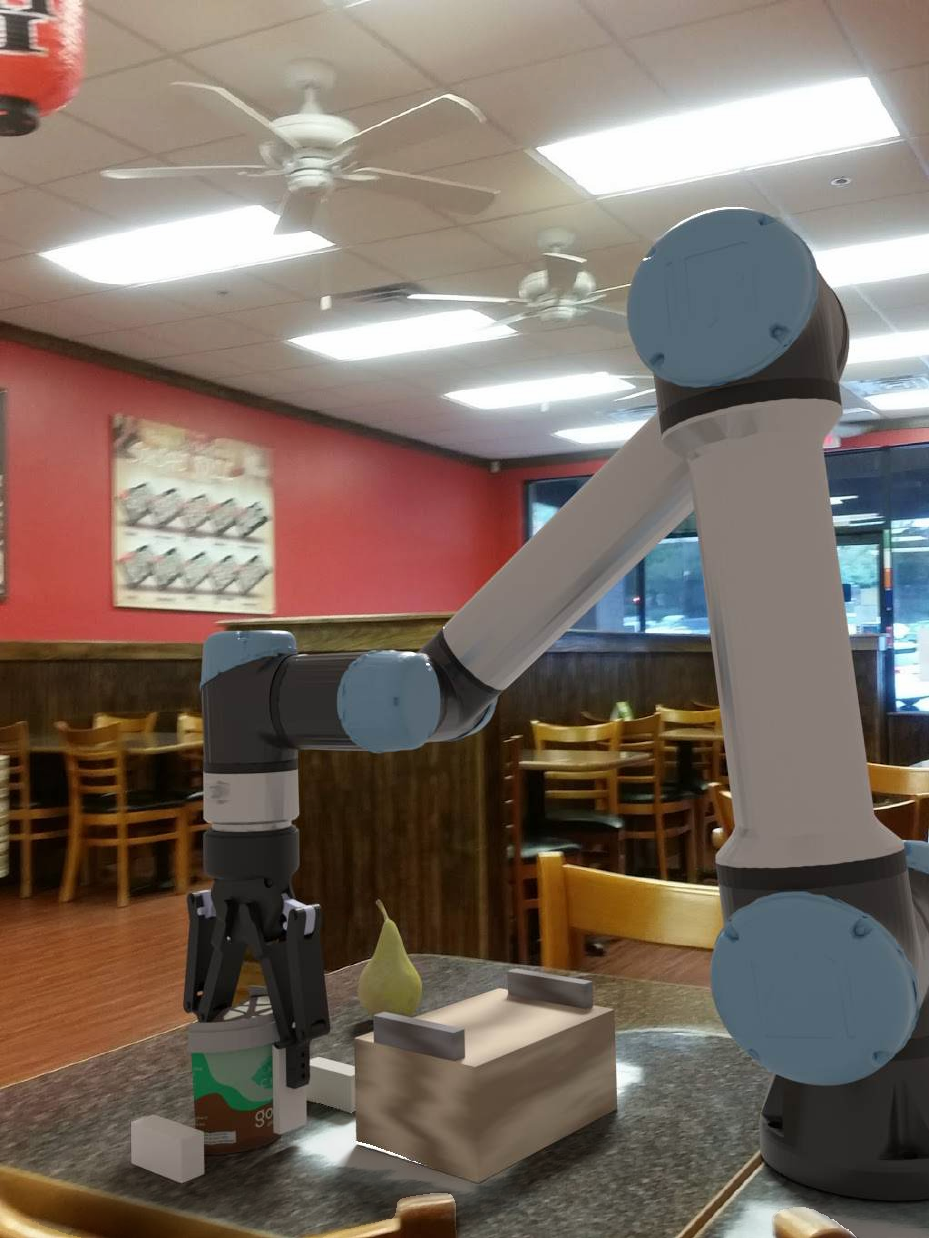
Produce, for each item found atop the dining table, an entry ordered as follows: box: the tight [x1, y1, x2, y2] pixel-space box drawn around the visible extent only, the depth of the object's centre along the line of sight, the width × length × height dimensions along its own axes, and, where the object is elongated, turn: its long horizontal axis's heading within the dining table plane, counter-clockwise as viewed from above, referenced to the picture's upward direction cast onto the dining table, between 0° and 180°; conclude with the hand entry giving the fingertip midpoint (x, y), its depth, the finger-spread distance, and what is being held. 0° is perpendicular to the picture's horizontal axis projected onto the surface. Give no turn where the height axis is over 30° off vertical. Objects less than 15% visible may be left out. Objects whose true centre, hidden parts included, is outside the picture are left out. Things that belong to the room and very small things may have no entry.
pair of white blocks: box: [130, 1056, 356, 1184], centre depth 95 cm, size 6×19×3 cm, turn 140°
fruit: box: [357, 899, 423, 1018], centre depth 126 cm, size 7×8×12 cm
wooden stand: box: [353, 968, 618, 1184], centre depth 96 cm, size 12×18×10 cm, turn 140°
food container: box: [186, 985, 295, 1156], centre depth 95 cm, size 12×6×10 cm, turn 167°
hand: (255, 1116), depth 95 cm, fingers closed on food container, 7 cm apart
